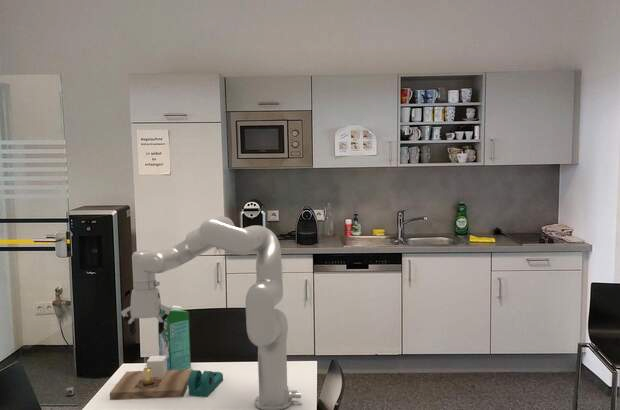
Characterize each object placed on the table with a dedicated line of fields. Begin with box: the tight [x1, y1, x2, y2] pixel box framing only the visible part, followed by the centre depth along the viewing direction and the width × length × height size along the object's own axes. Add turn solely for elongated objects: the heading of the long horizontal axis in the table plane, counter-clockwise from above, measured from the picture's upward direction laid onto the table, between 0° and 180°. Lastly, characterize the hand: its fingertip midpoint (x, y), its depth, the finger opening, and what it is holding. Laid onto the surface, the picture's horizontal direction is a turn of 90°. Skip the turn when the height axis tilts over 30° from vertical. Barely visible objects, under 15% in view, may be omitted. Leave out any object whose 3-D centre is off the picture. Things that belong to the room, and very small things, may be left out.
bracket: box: [188, 369, 224, 398], centre depth 198 cm, size 18×7×8 cm, turn 168°
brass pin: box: [143, 366, 153, 386], centre depth 195 cm, size 3×3×8 cm
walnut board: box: [109, 368, 193, 401], centre depth 198 cm, size 25×20×2 cm
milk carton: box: [157, 305, 192, 370], centre depth 217 cm, size 9×9×25 cm
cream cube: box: [146, 355, 167, 377], centre depth 204 cm, size 6×6×6 cm
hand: (147, 333), depth 194 cm, fingers open, 9 cm apart
